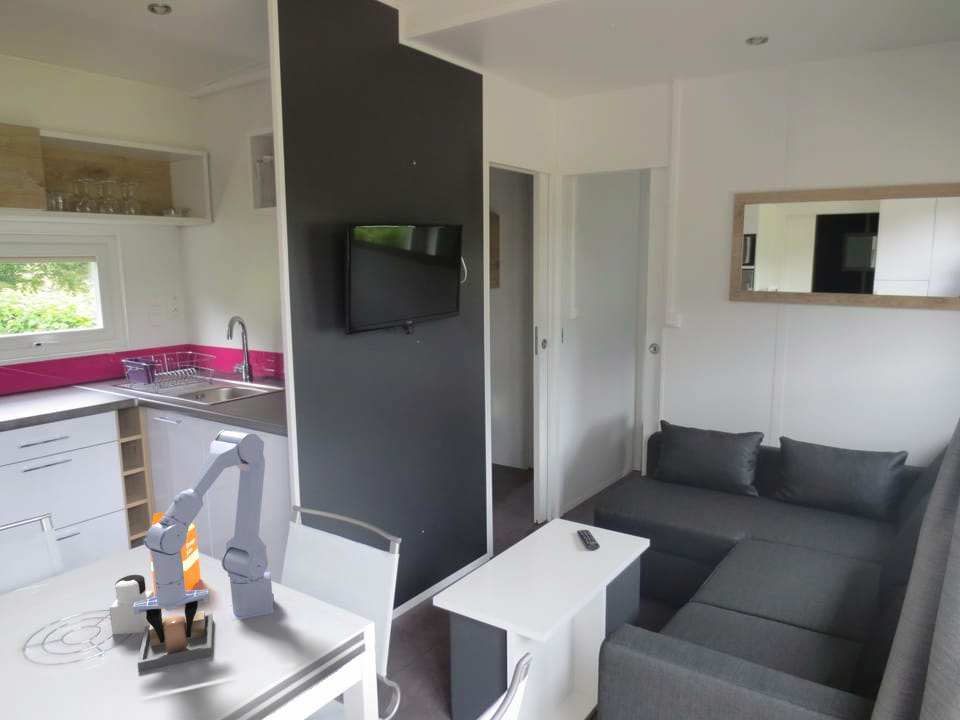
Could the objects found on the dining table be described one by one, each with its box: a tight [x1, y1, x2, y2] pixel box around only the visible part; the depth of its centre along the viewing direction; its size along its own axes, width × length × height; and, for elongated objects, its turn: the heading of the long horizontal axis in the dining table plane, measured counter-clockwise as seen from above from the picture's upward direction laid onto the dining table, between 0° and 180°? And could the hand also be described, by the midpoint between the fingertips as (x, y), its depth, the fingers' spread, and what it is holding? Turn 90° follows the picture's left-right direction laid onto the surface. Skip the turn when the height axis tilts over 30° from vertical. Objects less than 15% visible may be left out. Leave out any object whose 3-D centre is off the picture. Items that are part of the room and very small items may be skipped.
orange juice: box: [149, 512, 202, 594], centre depth 175 cm, size 8×9×20 cm
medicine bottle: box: [109, 574, 155, 635], centre depth 156 cm, size 7×7×12 cm
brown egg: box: [163, 615, 188, 653], centre depth 145 cm, size 4×4×6 cm
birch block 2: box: [184, 610, 206, 639], centre depth 153 cm, size 4×4×4 cm
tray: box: [137, 613, 214, 672], centre depth 148 cm, size 14×15×2 cm
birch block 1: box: [149, 616, 172, 647], centre depth 150 cm, size 4×4×4 cm
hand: (175, 637), depth 146 cm, fingers open, 5 cm apart
